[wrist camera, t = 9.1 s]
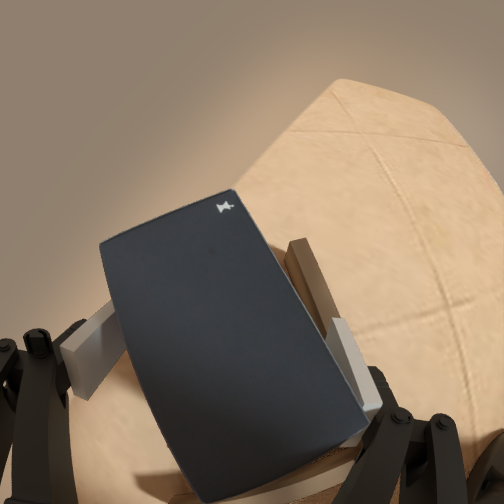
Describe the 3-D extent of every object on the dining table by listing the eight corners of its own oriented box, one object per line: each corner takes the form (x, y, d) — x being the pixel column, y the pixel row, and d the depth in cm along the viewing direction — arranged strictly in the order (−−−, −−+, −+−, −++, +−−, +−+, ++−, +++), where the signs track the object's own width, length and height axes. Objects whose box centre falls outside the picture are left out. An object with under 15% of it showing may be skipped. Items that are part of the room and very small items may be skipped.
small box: (155, 316, 19) (89, 237, 10) (237, 281, 21) (237, 179, 11) (218, 453, 14) (195, 512, 5) (307, 410, 16) (382, 420, 7)
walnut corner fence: (298, 256, 27) (305, 237, 24) (371, 451, 18) (390, 457, 15) (124, 300, 24) (110, 285, 21) (179, 509, 15) (171, 524, 12)
